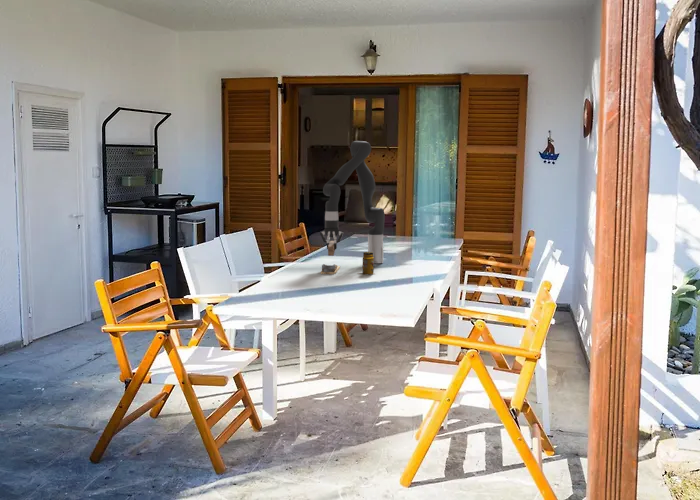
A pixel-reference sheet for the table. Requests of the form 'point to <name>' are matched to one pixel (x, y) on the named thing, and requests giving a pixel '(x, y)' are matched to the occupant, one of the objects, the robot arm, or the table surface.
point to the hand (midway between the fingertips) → (331, 249)
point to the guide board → (329, 269)
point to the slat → (331, 248)
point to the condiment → (368, 264)
